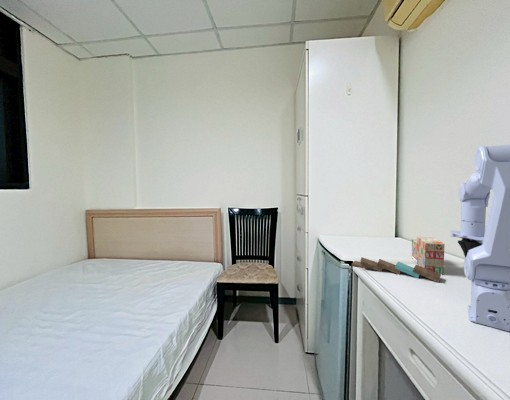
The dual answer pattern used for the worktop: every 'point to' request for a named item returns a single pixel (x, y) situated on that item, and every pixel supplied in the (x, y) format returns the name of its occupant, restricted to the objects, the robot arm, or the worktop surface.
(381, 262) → the walnut domino
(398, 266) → the teal domino
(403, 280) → the worktop surface
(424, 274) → the walnut domino
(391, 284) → the worktop surface
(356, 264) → the walnut domino
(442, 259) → the stack of blocks
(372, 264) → the walnut domino
